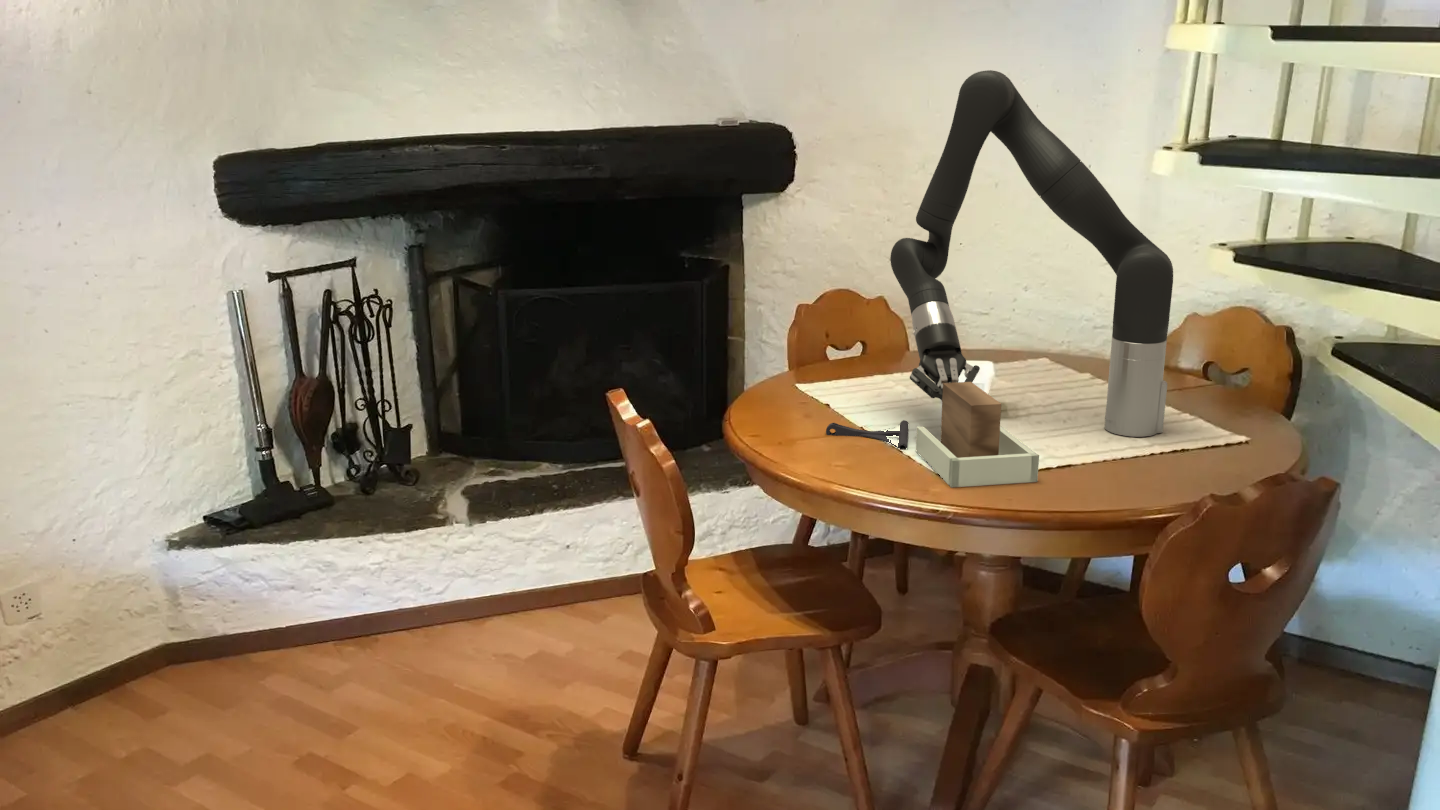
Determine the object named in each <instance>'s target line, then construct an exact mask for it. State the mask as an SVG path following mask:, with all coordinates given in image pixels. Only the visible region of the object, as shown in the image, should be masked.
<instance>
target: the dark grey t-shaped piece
mask: <svg viewBox="0 0 1440 810" xmlns="http://www.w3.org/2000/svg"><path fill="white" fill-rule="evenodd" d="M908 424H909V422H908V421H907V420H904V419H903V420H901V421H900V423H899V425H900V431H888V430H887V431H886V432H884V431H881V430H864V429H859V428H853V427H849V426H846V425H843V424H838V423H836V422H831V423H829V424H828V425H827V427H826V430H825V434H826V436H838V437H840V436H841V437H863V438H870V439H874V440H878V439H879V441H881V440H883V441H882V442H884V441H886V442H889V439H887V437H886V436H893V435H896V436H899V438H898V440H899V443H898V448H900V449H901V447H902V446H903V447H904V448H907V449H908V446H909V443H908V442H909V429H908ZM909 425H910V424H909ZM831 430H834V432H831ZM886 442H885V443H886ZM889 443H891V440H890V442H889ZM889 443H888V444H889ZM891 444H892V443H891ZM892 445H894V444H892ZM892 445H891V446H892ZM894 446H895V447H897V446H896V445H894ZM895 447H894V448H895ZM898 448H897V449H898Z"/></svg>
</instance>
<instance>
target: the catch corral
mask: <svg viewBox="0 0 1440 810" xmlns="http://www.w3.org/2000/svg"><path fill="white" fill-rule="evenodd" d="M915 438H916V441H915V451H916V450H917V452H918V453H919V454H920V455H921V456H922V457H923V458H924V459H925V460H926V461H927V462H928V463H929V464H930V465H931V466H932V467H933V468H934V469H933V468H932V467H931V466H930V465H929V464H928V463H927V462H926V461H925V460H924V459H923V458H922V457H921V456H920V455H919V454H918V453H917V452H916V453H917V454H918V455H919V456H920V457H921V458H922V459H923V460H924V461H925V462H926V463H927V464H928V465H929V466H930V467H931V468H932V469H933V471H934V472H935V473H936V474H937V473H938V474H939V475H940V476H939V475H938V474H937V475H938V476H939V477H940V478H941V479H942V478H943V479H942V480H943V481H944V482H945V483H946V484H947V485H948V486H949V487H950V488H961V487H962V488H963V487H978V486H979V487H980V486H992V485H993V486H994V485H1009V484H1025V483H1037V482H1038V478H1039V466H1040V464H1039V463H1040V455H1039V454H1038V452H1036V451H1035V450H1033V449H1032V448H1031V447H1029V446H1028V445H1027V444H1025V443H1024V442H1023V441H1021V440H1020V439H1019V438H1017V437H1016V436H1015V435H1013V433H1011V432H1010V431H1008V429H1006V428H1004V426H1001V424H1000V437H999V455H994V456H979V457H963V458H957V457H956V456H955V455H954V454H952V453H951V452H950V451H949V450H948V449H947V448H946V447H945V446H944V445H943V444H942V443H941V440H939V439H938V438H936V436H935V435H933V434H932V433H931V432H930V431H929V430H928V429H927V428H926V427H925V426H916V436H915Z"/></svg>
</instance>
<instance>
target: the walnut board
mask: <svg viewBox="0 0 1440 810" xmlns="http://www.w3.org/2000/svg"><path fill="white" fill-rule="evenodd" d="M1001 416H1002V403H1001V402H1000V401H998V400H996V398H994V397H992V396H991V395H990V394H989V393H987V392H985V391H984V390H983V389H981V388H980V387H979V386H977V384H974V382H965V381H961V382H959V381H958V382H957V383H943V396H942V401H941V424H940V442H941V443H942V444H943V445H944V446H945V447H946V448H947V449H948V450H949V451H950V452H951V453H952V454H954V455H955V456H956V457H957V458H963V457H979V456H994V455H999V437H1000V425H1001Z"/></svg>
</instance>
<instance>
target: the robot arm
mask: <svg viewBox="0 0 1440 810" xmlns="http://www.w3.org/2000/svg"><path fill="white" fill-rule="evenodd" d="M959 88H960V89H959V92H958V96H957V101H956V105H955V110H954V113H953V114H954V115H953V118H952V123H951V126H950V130H949V133H948V135H947V139H946V142H945V145H944V148H943V150H942V153H941V156H940V158H939V161H938V163H937V165H936V168H935V170H934V172H933V175H932V177H931V179H930V182H929V184H928V186H927V189H926V191H925V194H924V196H923V198H922V201H921V203H920V205H919V208H918V211H917V212H916V216H915V222H916V224H917V225H918V226H919V227H921V228H922V229H924V230H925V231H927V232H928V239H927V241H925V240H921V239H916V238H912V237H911V238H910V237H903V238H899V240H897V241H896V242H895V243H894V245H893V246H892V248H891V251H890V258H889V259H890V266H891V270H892V272H893V274H894V276H895V278H896V280H897V282H898V284H899V286H900V288H901V289H902V291H903V293H904V294H905V296H906V298H907V300H908V306H909V310H910V314H911V321H912V323H911V325H912V330H913V331H912V332H913V333H912V334H913V336H914V338H915V344H916V348H917V353H918V357H919V359H920V360H919V363H918V367H917V368H916V367H915V368H913V369H912V372H911V373H910V375H909V380H911V382H913V383H914V384H915V385H916V386H917V387H918V388H920V390H921V391H923V392H924V393H925V394H926V395H928V396H929V397H930V398H931V399H935V398H937V399H940V401H941V402H942V396H943V383H957V382H959V378H960V376H961V374H962V372H963V371H964V373H963V374H964V377H965V380H964V382H972V383H974V381H975V378H976V377H977V376H978V373H980V370H981V368H980V366H979V365H976V364H975V365H971V364H969V363H967V359H966V357H965V356H964V355H963V353H962V347H961V342H960V338H959V335H958V332H957V326H956V324H955V320H954V319H955V318H954V316H953V314H952V310H951V308H950V304H949V300H948V296H947V292H946V289H945V287H944V285H943V283H942V281H940V280H938V279H937V278H938V277H940V276H941V275H942V273H943V272H944V271H945V269H946V266H947V264H948V259H949V251H950V243H951V237H952V231H953V226H954V225H955V222H956V219H957V218H958V217H957V216H958V214H959V213H960V210H961V207H962V205H963V203H964V201H965V197H966V195H967V193H968V189H969V186H970V183H971V179H972V175H973V172H974V169H975V166H976V162H977V160H978V158H979V155H980V152H981V151H982V150H981V149H982V148H983V146H984V144H985V141H986V140H987V138H988V137H989V135H990V133H992V134H993V135H994V136H995V137H996V138H997V139H998V141H1000V142H1001V143H1002V144H1003V145H1004V147H1005V148H1006V149H1007V150H1008V151H1009V152H1010V154H1011V155H1012V157H1013V158H1014V160H1015V162H1016V163H1017V166H1018V167H1019V168H1020V171H1021V173H1022V174H1023V176H1024V177H1025V179H1026V180H1027V182H1028V183H1029V185H1030V186H1031V188H1032V189H1033V190H1034V191H1035V194H1037V196H1038V197H1039V198H1040V199H1041V200H1042V201H1043V203H1045V205H1047V207H1048V208H1049V209H1050V210H1051V211H1052V212H1053V213H1054V215H1056V217H1058V218H1059V219H1060V220H1062V221H1063V222H1064V223H1065V224H1066V225H1067V226H1069V227H1070V228H1071V229H1072V230H1074V232H1076V233H1077V234H1079V235H1080V236H1081V237H1083V238H1084V239H1086V240H1087V242H1089V243H1090V244H1092V246H1093V247H1094V248H1095V249H1096V250H1097V251H1098V252H1099V253H1100V254H1101V256H1102V257H1103V258H1104V259H1105V261H1106V262H1107V263H1108V265H1109V266H1110V268H1111V270H1113V272H1114V273H1115V275H1116V279H1115V290H1114V291H1115V292H1114V303H1113V305H1114V306H1113V315H1112V316H1113V318H1112V333H1111V343H1110V358H1109V359H1110V360H1109V368H1108V370H1109V371H1108V381H1107V382H1108V383H1107V392H1106V394H1107V395H1106V404H1105V406H1106V407H1105V416H1104V429H1105V430H1106V431H1108V432H1109V433H1112V434H1115V435H1120V436H1124V437H1125V436H1126V437H1134V438H1135V437H1137V438H1141V437H1151V436H1154V435H1156V434H1162V433H1163V431H1164V424H1165V423H1164V421H1165V410H1166V401H1167V392H1168V391H1167V390H1168V382H1167V381H1166V380H1165V379H1164V371H1165V370H1164V369H1165V362H1166V353H1167V351H1166V350H1167V341H1168V332H1169V331H1168V330H1169V326H1170V325H1169V324H1170V313H1171V306H1172V297H1173V296H1172V295H1173V284H1174V268H1173V262H1172V260H1171V259H1170V257H1169V256H1168V255H1167V254H1166V253H1165V252H1164V251H1163V250H1162V249H1161V248H1160V247H1158V246H1157V245H1156V244H1155V243H1153V241H1152V240H1150V239H1149V238H1148V237H1147V236H1146V235H1144V233H1142V231H1140V230H1139V229H1138V228H1137V226H1136V225H1134V224H1133V223H1132V222H1131V221H1130V220H1129V218H1127V216H1126V215H1125V214H1124V213H1123V211H1122V209H1120V207H1119V206H1118V204H1117V203H1116V202H1115V199H1114V198H1113V197H1112V196H1111V194H1110V193H1109V192H1108V191H1107V189H1106V188H1105V187H1104V186H1103V184H1102V183H1101V182H1100V181H1099V179H1098V178H1097V177H1096V176H1095V175H1094V173H1093V172H1092V171H1091V170H1090V169H1089V168H1088V167H1087V165H1086V164H1085V163H1084V162H1082V160H1081V159H1080V158H1079V156H1078V155H1076V154H1075V153H1074V152H1073V150H1071V149H1070V148H1069V147H1068V146H1067V145H1066V143H1064V141H1062V140H1061V139H1060V138H1059V137H1058V136H1057V135H1056V134H1055V133H1054V132H1053V131H1051V130H1050V129H1049V127H1047V126H1046V125H1044V124H1043V122H1042V121H1041V120H1040V119H1039V118H1038V117H1037V116H1036V114H1035V112H1033V111H1032V109H1031V108H1030V106H1029V105H1028V103H1027V102H1026V100H1024V98H1023V96H1022V95H1021V93H1020V92H1019V90H1018V89H1017V88H1016V86H1015V85H1014V83H1013V82H1012V80H1011V79H1010V78H1009V77H1008V76H1007V75H1005V74H1004V73H1002V72H1000V71H997V70H993V69H992V70H991V69H990V70H989V69H988V70H981V71H977V72H974V73H973V74H971V75H970V76H967V78H966V79H965V80H964V81H963V83H962V84H961V86H960V87H959Z"/></svg>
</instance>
